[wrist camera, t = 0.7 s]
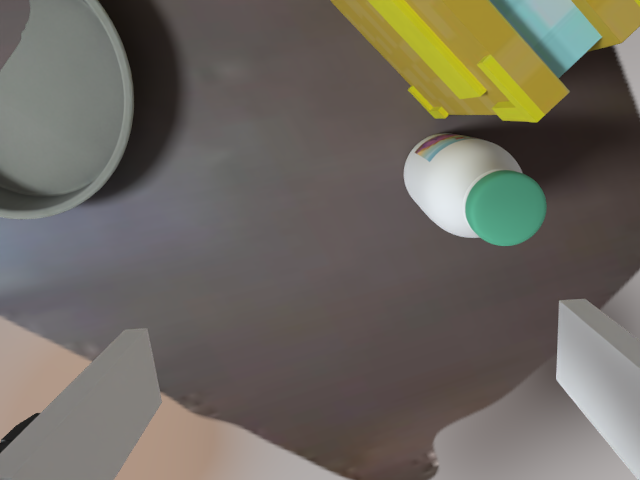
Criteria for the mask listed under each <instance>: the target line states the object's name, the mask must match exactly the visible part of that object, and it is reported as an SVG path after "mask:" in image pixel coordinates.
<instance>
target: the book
mask: <svg viewBox="0 0 640 480" xmlns="http://www.w3.org/2000/svg"><path fill="white" fill-rule="evenodd" d="M331 2H332V3H333V4H334V5H335V6H336V7H337V8H338V9H339V10H340V12H341V13H342V14H343V15H344V16H345V17H346V18H347V19H348V20H349V21H350V22H351V23H352V24H353V25H354V26H355V27H356V28H357V29H358V31H359V32H360V33H361V34H362V35H363V36H364V37H365V38H366V39H367V40H368V41H369V42H370V43H371V44H372V45H373V46H374V47H375V48H376V49H377V51H378V52H379V53H380V54H381V55H382V56H383V57H384V58H385V59H386V60H387V61H388V62H389V63H390V64H391V65H392V66H393V67H394V68H395V69H396V71H397V72H398V73H399V74H400V75H401V76H402V77H403V78H404V79H405V80H406V81H407V82H408V83H409V84H410V85H411V87H410V88H409V89H408V91H409V92H410V93H411V94H412V95H413V96H414V97H415V98H416V99H417V100H418V101H419V102H420V103H421V104H422V105H423V107H424V108H425V109H426V110H427V111H428V112H429V113H430V114H431V115H432V116H433V117H434V118H444V119H445V118H446V117H447V116H448V115H498V116H499V117H500V118H501V119H502V120H503V121H525V122H538V121H539V120H540V119H541V118H542V117H543V116H545V115H546V114H547V113H548V112H549V111H550V110H551V109H552V108H553V107H554V106H555V105H556V104H557V103H558V102H559V101H560V100H562V99H563V98H564V97H565V96H566V95H567V94H568V93H569V92H570V91H569V90H568V89H567V88H566V87H565V85H564V84H563V83H562V82H561V81H560V80H559V78H560V77H561V76H562V75H563V74H564V73H565V72H566V71H567V70H568V69H569V68H570V67H571V66H572V65H573V64H574V63H575V62H576V61H577V60H579V59H580V58H581V57H582V56H583V55H584V54H585V53H586V52H589V51H593V50H597V49H600V48H604V47H608V46H612V45H616V44H620V43H622V42H623V41H624V40H625V39H626V38H628V37H629V36H630V35H631V34H632V33H633V32H634V31H635V30H636V29H637V28H638V27H639V26H640V0H331Z"/></svg>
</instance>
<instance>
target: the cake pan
mask: <svg viewBox="0 0 640 480" xmlns="http://www.w3.org/2000/svg"><path fill="white" fill-rule="evenodd" d="M29 2H30V7H31V11H30V16H29V21H28V22H27V23H26V29H25V30H24V31H23V32H22V33H21V42H20V43H19V45H18V46H17V48H16V49H15V51H14V52H13V54H12V55H11V56H10V58H9V59H8V61H7V62H6V64H5V65H4V66H3V68H2V69H1V71H0V217H4V218H10V219H36V218H44V217H48V216H53V215H56V214H59V213H63V212H65V211H67V210H70V209H72V208H74V207H76V206H78V205H79V204H81V203H83V202H84V201H86V200H87V199H89V198H90V197H91V196H92V195H94V194H95V193H96V192H97V191H99V190H100V189H101V188H102V186H103V185H104V184H105V183H106V182H107V181H108V179H109V178H110V177H111V175H112V174H113V173H114V171H115V170H116V168H117V166H118V164H119V162H120V160H121V158H122V156H123V154H124V151H125V149H126V147H127V143H128V140H129V136H130V132H131V127H132V121H133V114H134V91H133V82H132V74H131V70H130V66H129V62H128V58H127V55H126V52H125V49H124V46H123V44H122V41H121V39H120V37H119V34H118V32H117V30H116V28H115V26H114V24H113V22H112V21H111V19H110V18H109V16H108V14H107V13H106V11H105V10H104V8H103V7H102V5H101V4H100V3H99V1H98V0H29Z"/></svg>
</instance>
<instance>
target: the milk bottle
mask: <svg viewBox="0 0 640 480" xmlns="http://www.w3.org/2000/svg"><path fill="white" fill-rule="evenodd" d="M404 181H405V185H406V188H407V190H408V192H409V194H410V196H411V197H412V198H413V200H414V201H415V202H416V203H417V204H418V206H419V207H420V208H421V209H422V210H423V211H424V212H425V213H426V215H427V216H428V217H429V218H430V219H431V220H432V221H433V222H435V223H436V224H437V225H438V226H439V227H441V228H442V229H444V230H445V231H447V232H450V233H452V234H454V235H457V236H461V237H468V238H479V237H480V238H482V239H483V240H485V241H487V242H489V243H491V244H494V245H499V246H511V245H516V244H519V243H522V242H524V241H526V240H527V239H529V238H530V237H531V236H533V235H534V234H535V233H536V232H537V231H538V229H539V228H540V226H541V225H542V223H543V221H544V218H545V215H546V199H545V195H544V193H543V191H542V189H541V187H540V186H539V185H538V183H537V182H536V181H535V180H533V179H532V178H531V177H529V176H527V175H525V174H523V173H522V171H521V168H520V167H519V165H518V163H517V162H516V160H515V159H514V158H513V157H512V156H511V155H510V154H509V153H508V152H507V151H506V150H504V149H503V148H502V147H500V146H498V145H496V144H494V143H492V142H489V141H486V140H483V139H478V138H474V137H469V136H463V135H457V134H451V133H442V134H436V135H432V136H429V137H427V138H425V139H424V140H422V141H421V142H419V143H418V144H417V145H416V146H415V147H414V148H413V149H412V151H411V152H410V154H409V156H408V158H407V160H406V163H405V167H404Z"/></svg>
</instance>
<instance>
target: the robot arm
mask: <svg viewBox="0 0 640 480" xmlns="http://www.w3.org/2000/svg"><path fill="white" fill-rule="evenodd" d="M556 380H557V381H558V382H559V384H560V385H561V386H562V387H563V389H564V390H565V391H566V392H567V393H568V395H569V396H570V397H571V398H572V400H573V401H574V402H575V403H576V405H577V406H578V407H579V408H580V409H581V411H582V412H583V413H584V414H585V416H586V417H587V418H588V419H589V420H590V422H591V423H592V424H593V425H594V427H595V428H596V429H597V430H598V432H599V433H600V434H601V435H602V436H603V438H604V439H605V440H606V441H607V443H608V444H609V445H610V446H611V448H612V449H613V450H614V451H615V452H616V454H617V455H618V456H619V457H620V458H621V460H622V461H623V462H624V463H625V465H626V466H627V467H628V468H629V470H630V471H631V472H632V473H633V474H634V476H635V477H636V478H637V479H638V480H640V340H639V339H638V338H636V337H635V336H634V335H632V334H631V333H630V332H628V331H627V330H625V329H624V328H623V327H622V326H620V325H619V324H617V323H616V322H615V321H614V320H612V319H611V318H610V317H608V316H607V315H606V314H604V313H603V312H602V311H600V310H599V309H598V308H596V307H595V306H594V305H592V304H591V303H590V302H588V301H587V300H586V299H574V300H559V321H558V348H557V376H556ZM161 403H162V400H161V395H160V390H159V385H158V380H157V375H156V370H155V365H154V360H153V355H152V350H151V345H150V339H149V334H148V329H147V328H143V329H129V330H124V331H123V332H122V333H121V334H120V335H119V336H118V337H117V338H116V339H115V340H114V341H113V342H112V343H111V344H110V345H109V346H108V347H107V348H106V349H105V350H104V351H103V352H102V353H101V354H100V355H99V356H98V357H97V358H96V359H95V360H94V361H93V362H92V363H91V364H90V365H89V366H88V367H87V368H86V369H85V370H84V371H83V372H82V373H81V374H80V375H79V376H78V377H77V378H76V379H75V380H74V381H73V382H72V383H71V384H70V385H69V386H68V387H67V388H66V389H64V390H63V392H61V393H60V394H59V395H58V396H57V397H56V399H54V400H53V401H52V403H50V404H49V405H48V406H47V407H46V409H44V410H43V411H42V413H36V414H34V415H32V416H31V417H29V418H28V419H26V420H24V421H23V422H21V423H20V424H18V425H16V426H15V427H14V428H13V429H12V430H11V431H10V432H9V433H8V434H7V435H6V436H5V437H4V438H3V439H2V440H1V443H0V480H114V479H115V477H116V475H117V474H118V472H119V471H120V469H121V467H122V466H123V464H124V462H125V461H126V459H127V457H128V456H129V454H130V453H131V451H132V449H133V448H134V446H135V445H136V443H137V442H138V440H139V438H140V437H141V435H142V433H143V432H144V430H145V429H146V427H147V425H148V424H149V422H150V421H151V419H152V417H153V416H154V414H155V412H156V411H157V409H158V408H159V406H160V404H161Z"/></svg>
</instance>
